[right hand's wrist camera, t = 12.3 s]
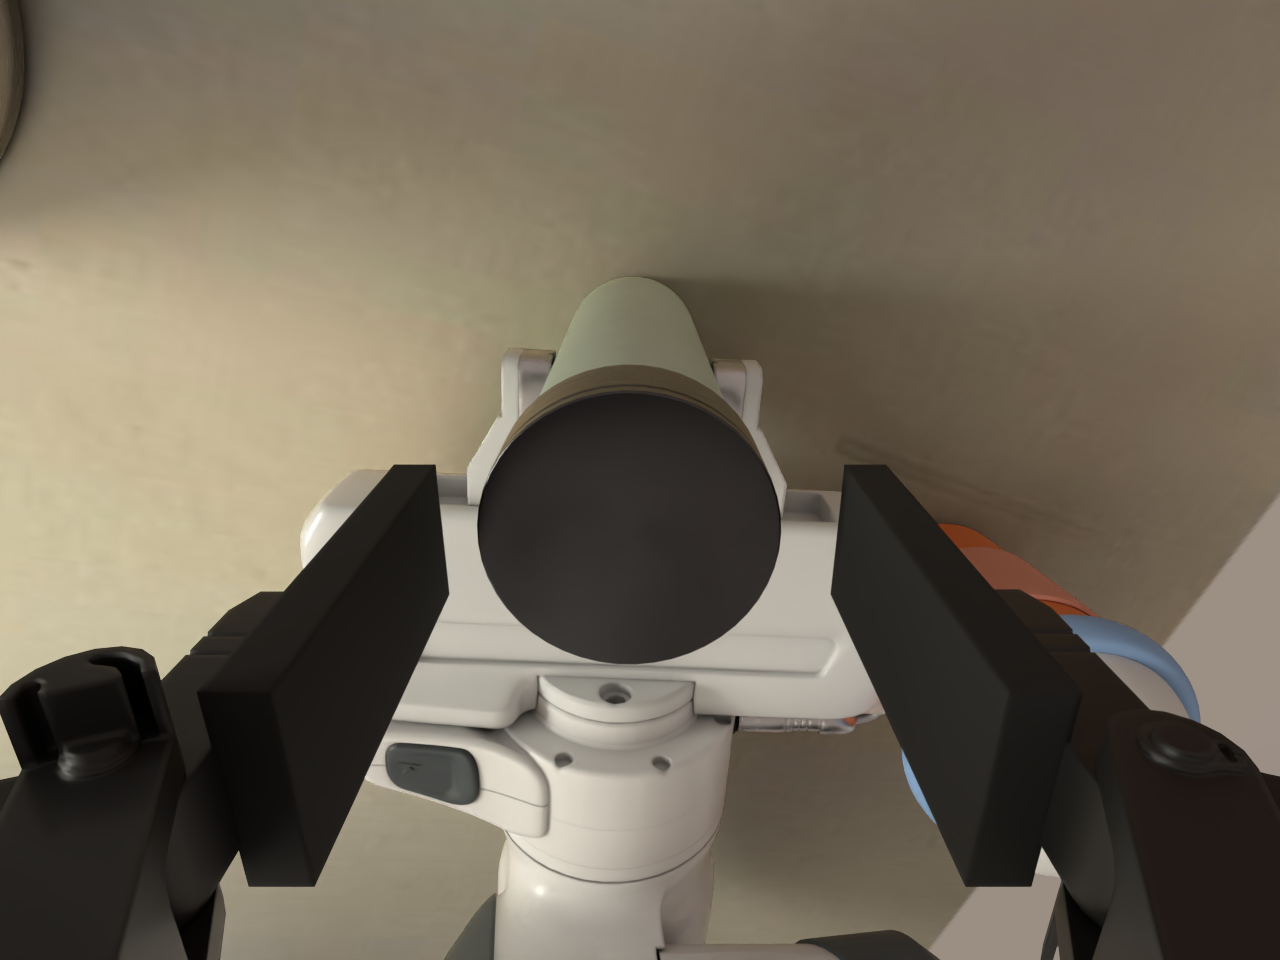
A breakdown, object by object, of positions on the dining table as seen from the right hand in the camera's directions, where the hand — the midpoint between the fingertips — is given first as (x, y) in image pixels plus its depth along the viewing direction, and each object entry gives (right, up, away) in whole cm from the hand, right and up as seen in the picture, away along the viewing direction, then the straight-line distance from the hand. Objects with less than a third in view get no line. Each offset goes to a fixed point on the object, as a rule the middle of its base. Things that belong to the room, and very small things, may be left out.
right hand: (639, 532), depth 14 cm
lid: (0, 0, 0) cm, 0 cm away
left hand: (0, +5, +9) cm, 10 cm away
